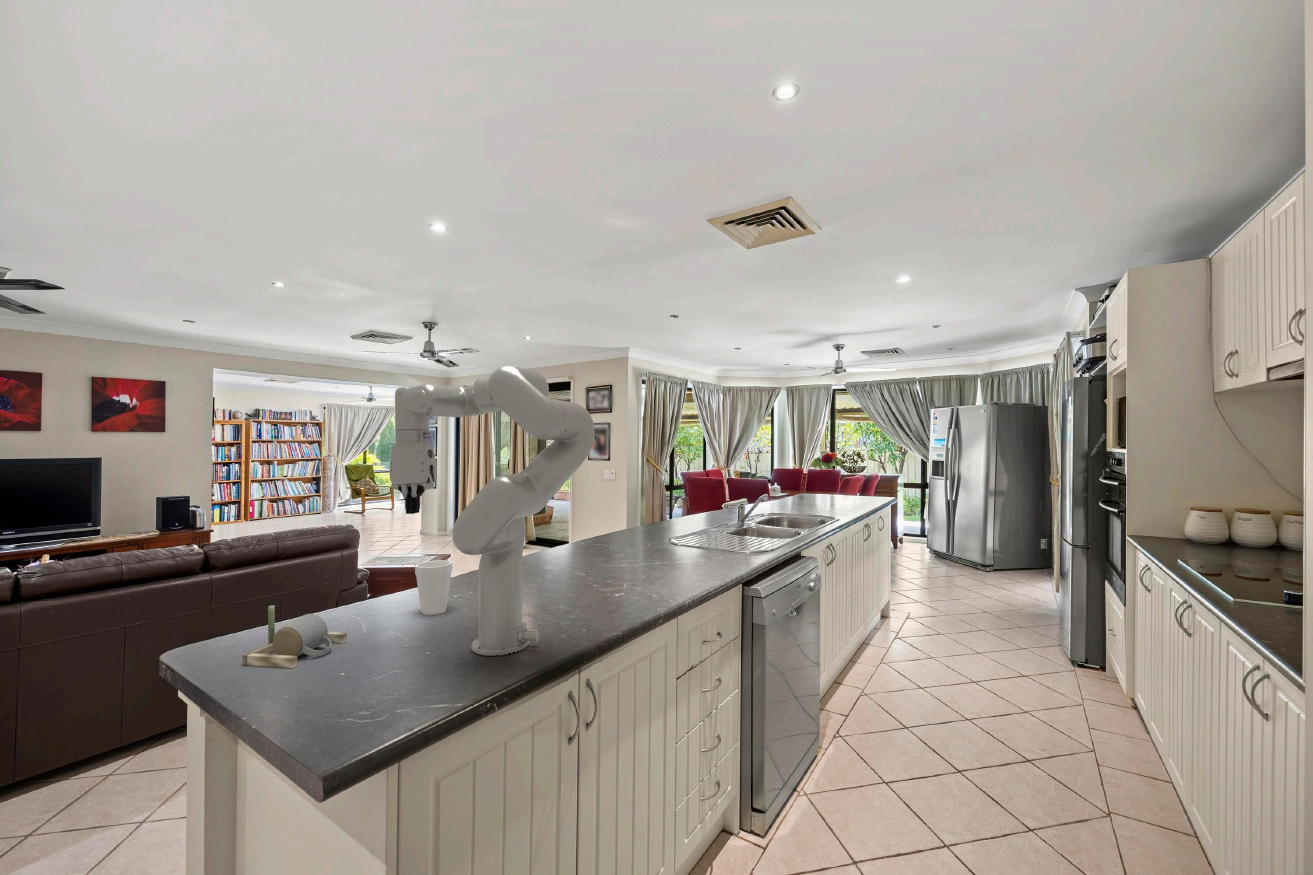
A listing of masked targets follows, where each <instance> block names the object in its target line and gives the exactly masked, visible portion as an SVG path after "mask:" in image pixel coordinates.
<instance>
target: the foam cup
mask: <svg viewBox="0 0 1313 875" xmlns="http://www.w3.org/2000/svg"><path fill="white" fill-rule="evenodd" d="M452 572H453V562H452V561H450V560H442V559H440V560H437V559H436V560H428V561H423V562H418V563H417V564H414V575H415V576H416V584H417V589H418V598H419V599H418V600H419V604H420V611H421V615H425V616H432V615H433V616H434V615H441V614H443V613H445V612H446V611H447V608H448V600H449V595H450V594H449V593H450V587H451V585H450V584H451V579H452Z"/></svg>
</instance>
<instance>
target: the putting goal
mask: <svg viewBox="0 0 1313 875" xmlns="http://www.w3.org/2000/svg"><path fill="white" fill-rule="evenodd" d="M275 607H276V605H274V604H273V605H267V618H268V619H267V639H268V640H267V644H266V645H264V646H261V647H259V648H257V649H254V650H252V651H249V652H247V653H245V654H242V655H241V656H242V666H255V667H267V668H268V667H271V668H286V669H294V668H296V667H297V666H298V657H297V656H287V655H278V654H277V653H276V652H275V650H274V648H273V637H274V635H275V634H276V630H275V628H276V619H275V618H276V617H275V616H276V614H275V612H276V611H275V610H276V609H275ZM347 636H348V634H347V632H339V631H338V632H336V631H335V632H334V631H333V632H332V631H328V633H327V638H329V639H330V641H331V642H332V644H344V643H347V642H348V640H347V638H348V637H347ZM273 653H274V654H273ZM271 654H272V655H271Z"/></svg>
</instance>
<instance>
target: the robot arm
mask: <svg viewBox="0 0 1313 875" xmlns="http://www.w3.org/2000/svg"><path fill="white" fill-rule="evenodd" d="M549 388H550V387H549V384H548V381H547V379H546V377H545V376H544V375H543V374H542V373H541V372H538V371H536V370H533V369H529V368H523V367H520V366H515V365H504V366H501V367H498V368H497V369H495V370H494V371H493V372H492V374H486V375H481V376H479V377H477V378H476V379H475V381H474V382H473V385H469V386H460V387H459V386H458V387H457V386H453V385H451V386H450V385H445V384H444V385H443V384H434V383H424V384H423V383H421V384H419V385H416V386H401V387H397V388H396V390H395V392H394V443H393V444H392V448H391V452H390V459H389V481H390V483H391V484H390V485H391V486H390V488H391V489H393V490H396V491H399V493H400V494H402V497H403V498H404V509H405V514H406V515H409V514H410V515H415V514H419V513H420V509H421V497H422V496H423V494H424V493H425V491H428V490H432V489H434V487H435V484H434V483H435V482H436V481H437V478H438V477H437V476H438V474H437V462H436V455H435V454H436V453H435V449H434V446H433V443H430V439H433V438H434V434H433V432H430V427H429V426H430V419H429V418H430V417H446V418H447V417H448V418H464V417H472V416H481V415H486V414H489V413H497V412H504V413H505V414H506V415H507V416H508V417H509V418H510V419H512V421H513V422H515V423H516V424H517V425H518V426H519V427H520V428H521V429H522V430H524V432H526V433H527V434H528V435H530V436H531V437H533V438H536V439H537V440H540V441H552V442H551V443H549V445H548V446H546V447H545V448H543V449H542V450H541V451H540V452H539V453H538V454H537V455H536V456H534V459H533V460H531V462H530V463H529V464H528V465H527V466H526V467H525V468H524V469H523V470H522V471H520V472H518V473H517V472H516V473H512V474H511V473H509V474H503V475H499V476H496V477H495V478H492V479H491V480H490V481H488V482H487V483H486V484H485V485H483V487H481V489H480V490H479V491H478V493H477V494H475V496H474V498H473V499H472V500H471V501H470V502H469V503H468V504H467V506H466V507H465V508H464V509H463V510H462V512H461V513H460V514H459V515H458V516H457V518H456V519H455V521H454V522H455V523H454V525H453V528H452V535H451V536H452V541H453V544H454V547H455V548H456V549H457V550H458V551H460V552H461V553H463V554H465V555H468V556H479V555H481V556H480V558H479V562H478V573H477V574H478V580H477V581H478V582H477V583H478V585H477V586H478V588H477V589H478V591H477V592H478V637H477V638H475V639H474V640H473V641H472V642H471V651H472V652H473V653H475V654H477V655H481V656H487V657H488V656H489V657H490V656H491V657H492V656H495V657H496V655H497V656H505V654H506V655H509V654H508V653H511V654H514V653H513V652H515V653H518V652H520V651H522V650H525V649H526V648H527V647H528V646H529V645H530V642H538V641H539V639H540V633H539V631H538V630H539V629H529V628H528V627H527V622H523V552H524V547H525V546H524V545H525V540H526V532H527V531H526V530H527V524H526V522H527V521H526V519H525V518H526V517H530V516H531V517H532V516H534V515H535V514H538V513H540V512H541V510H543V508H545V506H546V505H547V504H549V502H550V501H551V500H552V498H554V496H555V495H556V494H557V493H558V492H559V491H560V490H561V488H562V487H563V486H564V485H565V483H566V482H567V481H568V480H569V479H570V478H571V477H572V475H573V474H574V473H575V472H576V471H577V470H578V469H579V468H580V467H581V466H582V464H583V463H584V461H586V459H587V458H588V456H589V455H590V453H591V451H592V449H593V445H594V442H595V432H596V431H595V424H594V420H593V417H592V416H591V414H590V412H589V411H588V410H587V409H586V408H585V407H584V406H582V405H581V404H578V403H576V402H573V401H567V400H562V399H561V400H560V399H559V400H558V399H554V398H553V399H552V398H549V397H548V396H549V392H550V389H549ZM517 651H518V652H517Z"/></svg>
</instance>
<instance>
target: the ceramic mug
mask: <svg viewBox="0 0 1313 875" xmlns="http://www.w3.org/2000/svg"><path fill="white" fill-rule="evenodd" d="M328 632H329V631H328V627H327V623H326V622H325V621H324V619H323V618H322V617H321V616H320V615H317V614H315V613H306V614H303V615H301V616H300V617H298V618H296V619H294V620H293V621H291V622H289V623H287V624H285V625H283V626H282V627H281V628H279V629H278V630H277V631H275V635H274V637H273V648H274V650H275V652H276V653H275V654H276V655H287V656H297V658H299V656H300V657H301V656H302V655H304V654H305V655H306V656H309V657H314V658H316V657H317V658H318V657H323V656H326V655H328V654H329V653H330V652H331V649H332V647H333V643H332V642H331V641H330V639H329V638H327V633H328ZM321 645H325V646H326V647H327V648H325V649H321V650H319V649H316V648H318V647H320V646H321Z"/></svg>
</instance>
